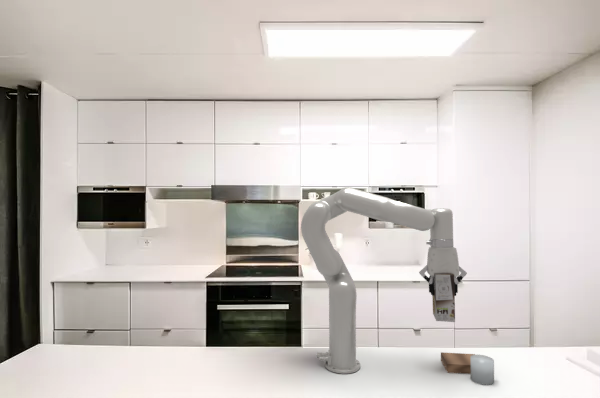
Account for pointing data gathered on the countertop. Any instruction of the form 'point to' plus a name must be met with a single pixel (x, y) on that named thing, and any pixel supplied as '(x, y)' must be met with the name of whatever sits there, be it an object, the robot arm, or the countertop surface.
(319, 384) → the countertop surface
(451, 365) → the walnut slab
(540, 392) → the countertop surface
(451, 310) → the coffee box
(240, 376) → the countertop surface
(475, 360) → the pale grey rounded cylinder
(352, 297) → the robot arm
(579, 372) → the countertop surface
